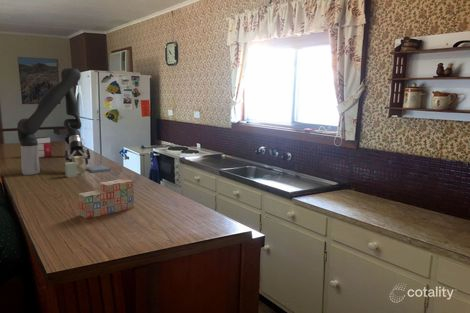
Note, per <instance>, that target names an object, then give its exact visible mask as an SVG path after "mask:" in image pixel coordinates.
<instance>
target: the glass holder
mask: <svg viewBox="0 0 470 313" xmlns="http://www.w3.org/2000/svg"><path fill="white" fill-rule="evenodd" d="M82 141H85V140H84V139H83V138H82ZM82 145H83V147H84V146H85V144H82ZM64 146H65V148H64V150H65V151H70V145H69V136H65V137H64ZM70 156H71V154H69V155H68V158H69V157H70Z"/></svg>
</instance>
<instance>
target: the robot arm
mask: <svg viewBox="0 0 470 313" xmlns="http://www.w3.org/2000/svg"><path fill="white" fill-rule="evenodd" d="M60 77H61V81H60V82H59V83H58V84H55V85H54V86H53V87H51V88H50V89H49V90H48V91H46V93H45V94H44V95H43V96H42V97H41V98H40V100H39V102H38V105H37V107H36V109H35V110H34V112H33V113H32V115H30V117H28V118H21V119H20V120H19V121H18V123H17V124H16V125H17V127H16V128H17V135H18V136H17V137H18V141H19V143H20V153H21V154H20V155H21V156H20V164H21V166H20V167H21V174H23V175H24V176H26V175H28V176H30V175H37V174H40V173H41V170H40V169H41V168H40V158H39V154H38V141H37V140H36V138H37V137H35V134H36V133H37V132H38V131H39V129H40V128H41V126H42V125H43V123H44V122H45V120H46V119H47V118H48V117H49V115H50V114H51V113H52V112H53V111H54V109H55V108H57V106H58V105H59V104H60V102H61V101H62V100H63V99H65V112H66V115H67V116H73V117H74V118H66V119H65V120H64V121H63V126H64V127H63V128H64V129H65V131H66V132H67V136H68V137H69V145H70V151H66V150H65V151H64V152H65V153H64V154H65V155H64V156H65V161H68V162H73V156H83V157H84V164H85V166H86V165H88V164H89V160H90V159H91V154H90V150H89V148H88V149H86V150H85V149H84V146H83V145H84V144H83V139H82V138H81V137H82V136H81V132H80V129H81V128H82V121H81V119H80V116H79V110H78V107H79V106H78V98H77V97H76V94H75V92H74V86H75V85H77V83H78V82H79V81H80V80H81V77H82V76H81V71H80V70H79V69H78V68H74V67H66V68H63V69H62V70H61V72H60ZM69 154H71V156H70V157H69V158H68V155H69Z"/></svg>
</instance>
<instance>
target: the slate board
mask: <svg viewBox="0 0 470 313" xmlns="http://www.w3.org/2000/svg"><path fill="white" fill-rule="evenodd" d="M85 169H86V170H85V171H88V172H91V173H92V174H96V173H101V172H102V173H103V172H111V170H112V169H111V167H108V166H106V165H103V164H102V165H93V166H85Z"/></svg>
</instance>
